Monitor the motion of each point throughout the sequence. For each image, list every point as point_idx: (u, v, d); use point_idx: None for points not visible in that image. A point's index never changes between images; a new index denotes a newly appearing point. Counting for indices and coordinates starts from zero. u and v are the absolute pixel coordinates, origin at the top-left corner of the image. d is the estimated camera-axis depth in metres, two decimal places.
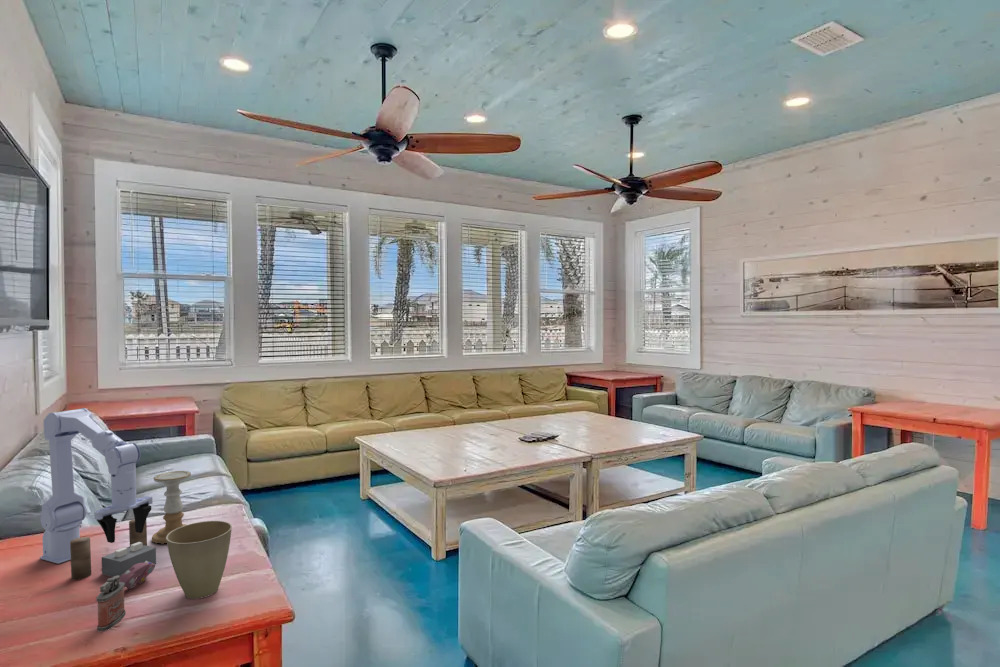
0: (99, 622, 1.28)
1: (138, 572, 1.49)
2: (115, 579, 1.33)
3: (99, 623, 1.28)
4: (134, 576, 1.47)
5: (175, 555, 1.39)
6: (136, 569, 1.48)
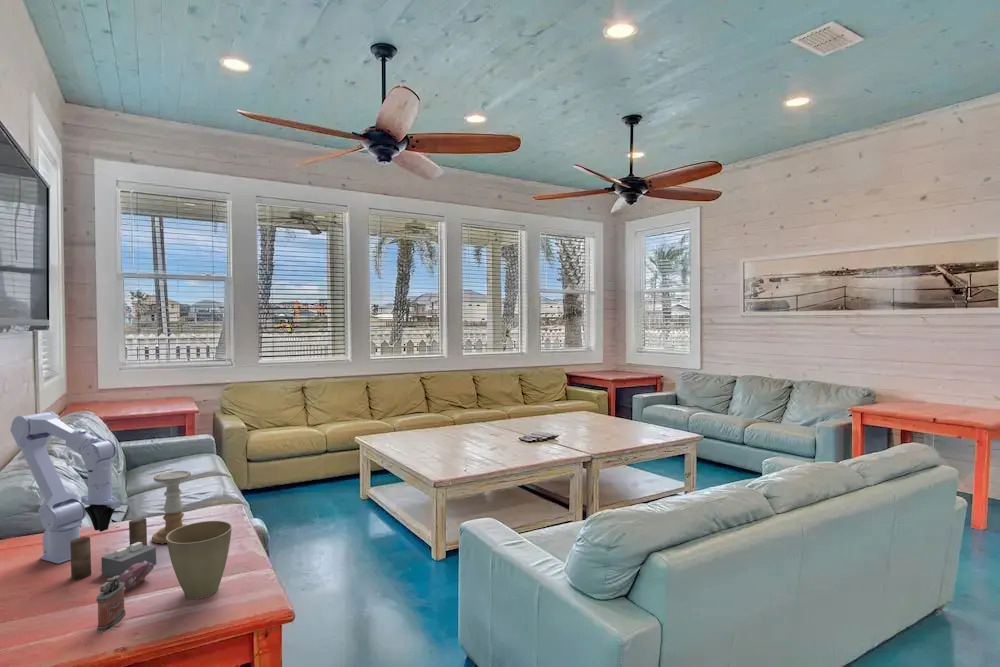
0: (99, 622, 1.28)
1: (137, 572, 1.49)
2: (115, 579, 1.33)
3: (99, 623, 1.28)
4: (133, 576, 1.47)
5: (175, 555, 1.39)
6: (135, 569, 1.48)
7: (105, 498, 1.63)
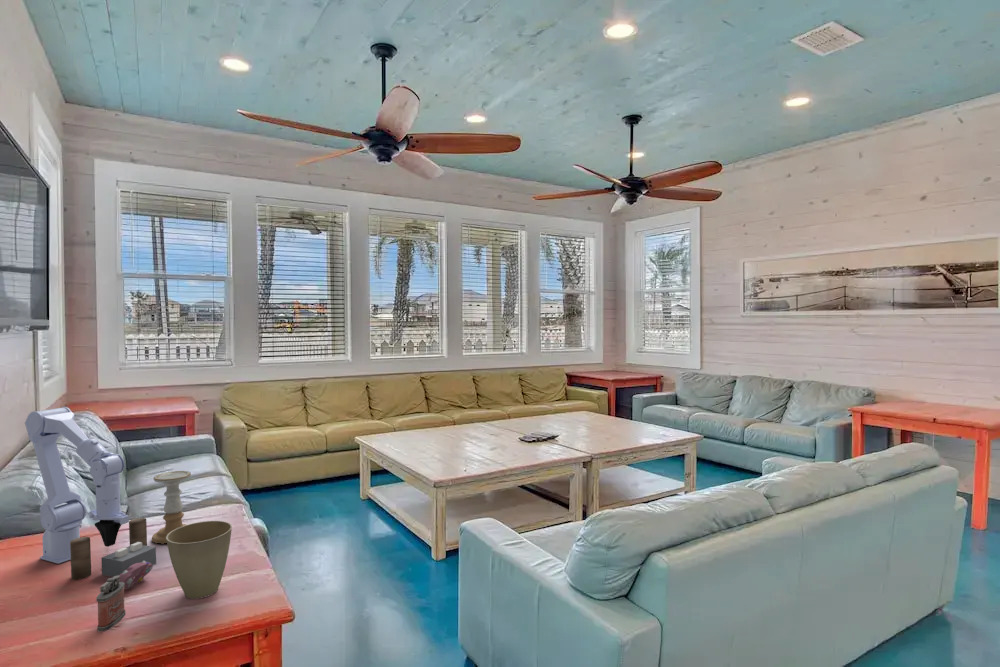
0: (99, 622, 1.28)
1: (136, 572, 1.49)
2: (115, 579, 1.33)
3: (99, 623, 1.28)
4: (132, 576, 1.47)
5: (175, 555, 1.39)
6: (134, 569, 1.48)
7: (114, 513, 1.62)
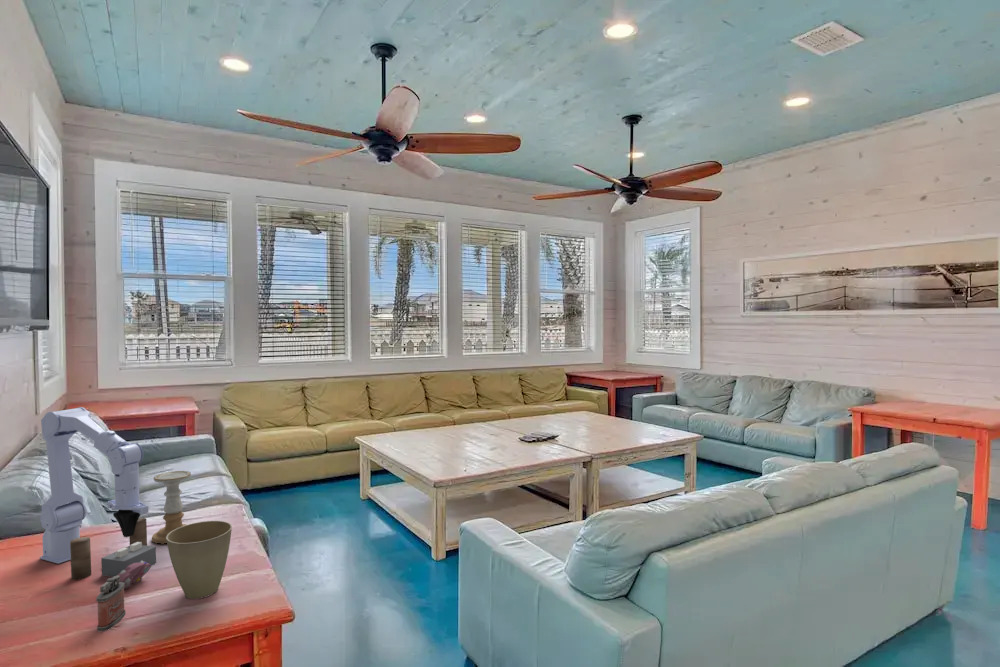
0: (99, 622, 1.28)
1: (134, 572, 1.49)
2: (115, 579, 1.33)
3: (99, 623, 1.28)
4: (130, 576, 1.47)
5: (175, 555, 1.39)
6: (132, 569, 1.48)
7: (133, 503, 1.58)
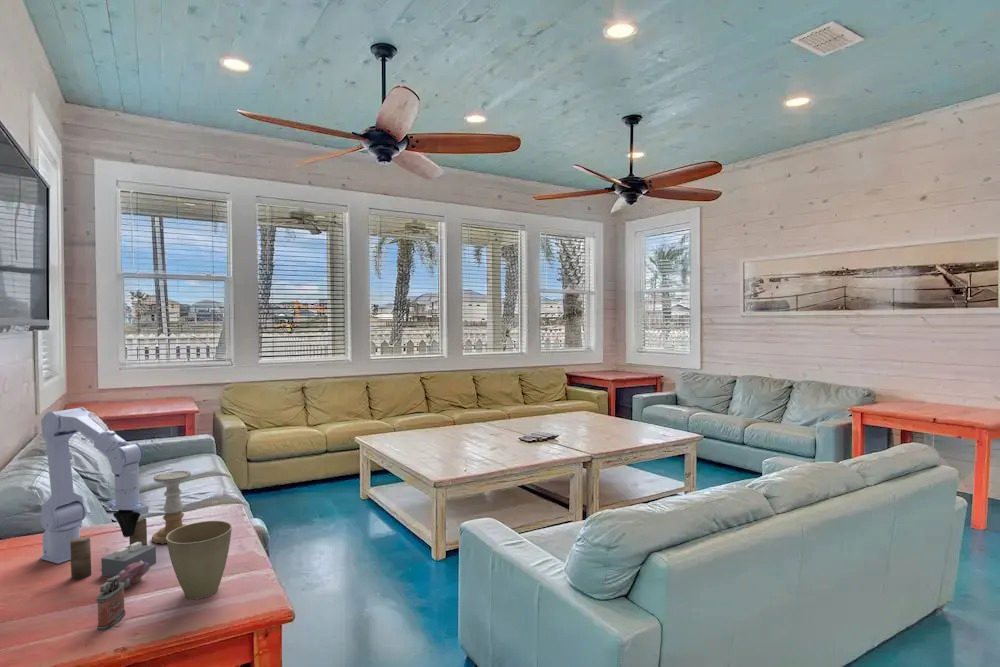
0: (99, 622, 1.28)
1: (133, 572, 1.49)
2: (115, 579, 1.33)
3: (99, 623, 1.28)
4: (129, 576, 1.47)
5: (175, 555, 1.39)
6: (131, 569, 1.48)
7: (133, 503, 1.58)
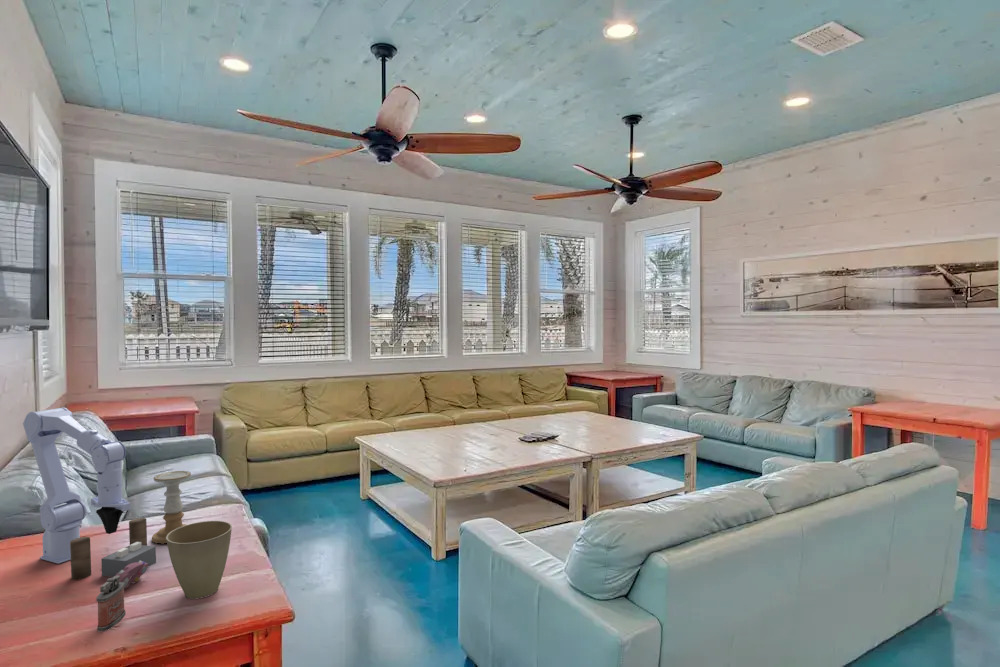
0: (99, 622, 1.28)
1: (132, 572, 1.49)
2: (115, 579, 1.33)
3: (99, 623, 1.28)
4: (128, 576, 1.47)
5: (175, 555, 1.39)
6: (130, 569, 1.48)
7: (115, 500, 1.61)
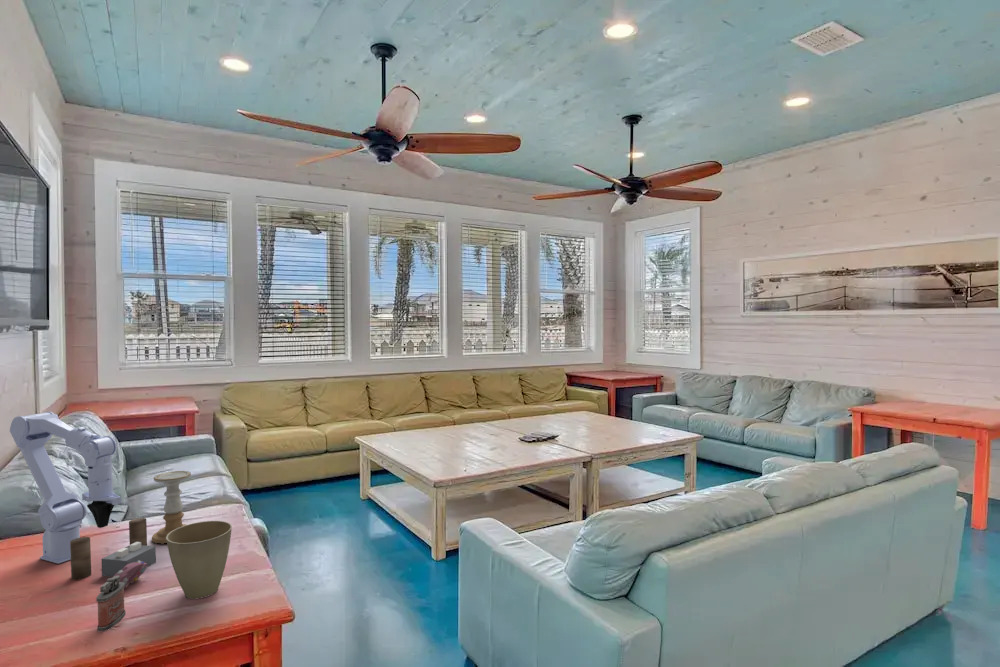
0: (99, 622, 1.28)
1: (131, 572, 1.49)
2: (115, 579, 1.33)
3: (99, 623, 1.28)
4: (127, 576, 1.48)
5: (175, 555, 1.39)
6: (129, 569, 1.48)
7: (106, 494, 1.63)
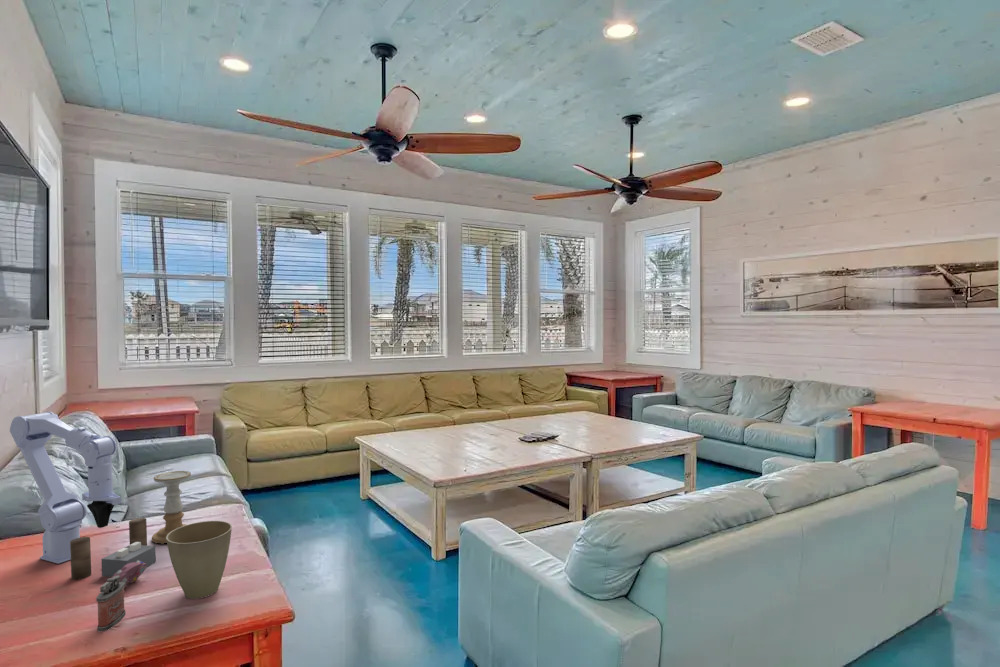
0: (99, 622, 1.28)
1: (130, 572, 1.49)
2: (115, 579, 1.33)
3: (99, 623, 1.28)
4: (126, 576, 1.48)
5: (175, 555, 1.39)
6: (128, 568, 1.48)
7: (106, 494, 1.63)
